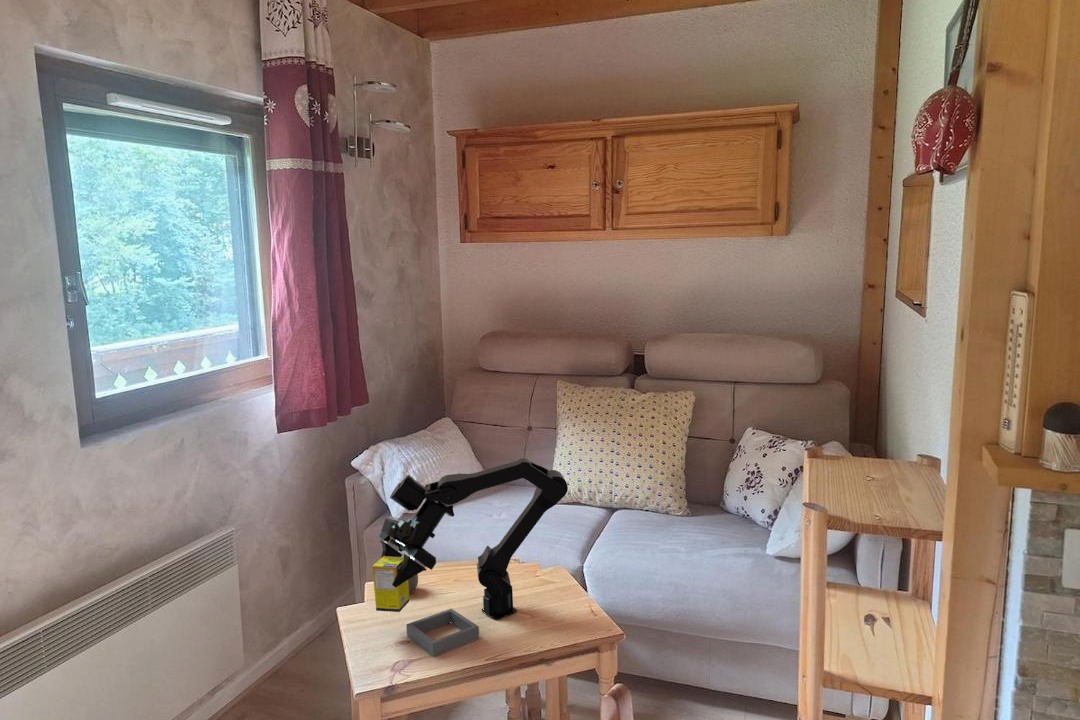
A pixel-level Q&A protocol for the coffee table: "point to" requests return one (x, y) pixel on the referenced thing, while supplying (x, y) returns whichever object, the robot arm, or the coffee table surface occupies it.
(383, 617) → the coffee table surface
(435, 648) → the collar
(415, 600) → the coffee table surface
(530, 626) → the coffee table surface
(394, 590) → the supplement box
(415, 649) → the coffee table surface
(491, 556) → the robot arm
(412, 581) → the vase
